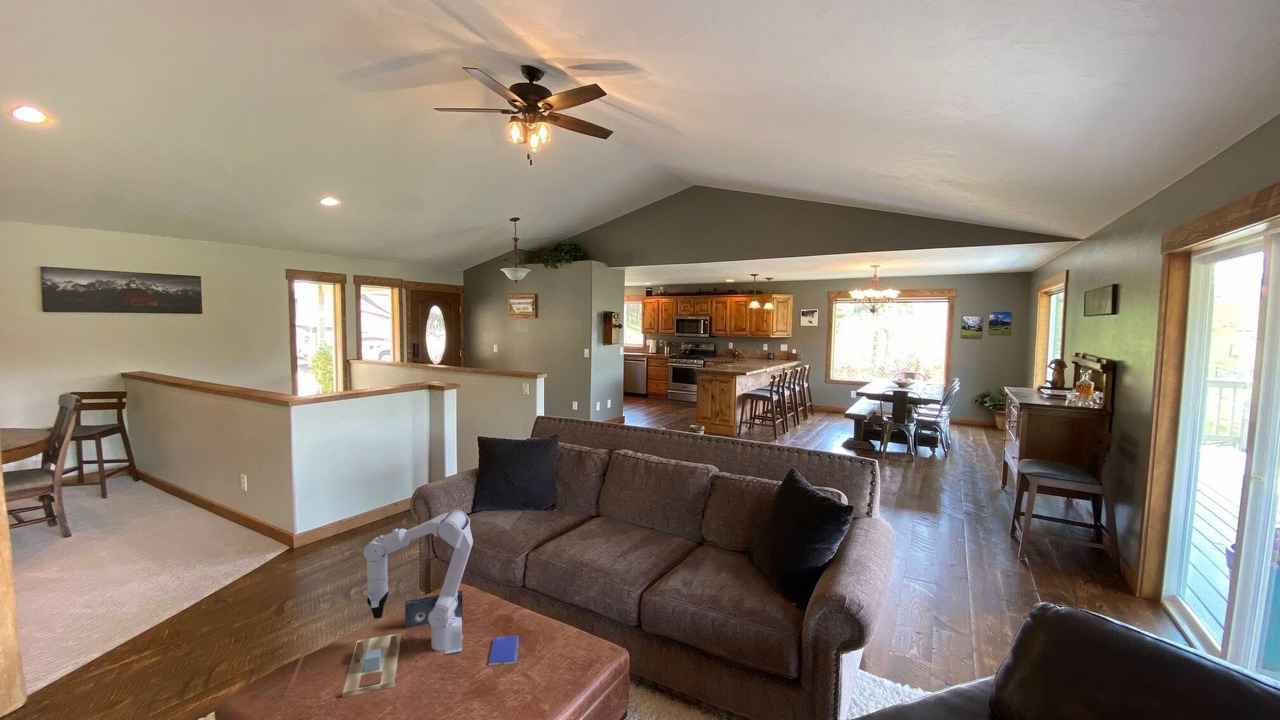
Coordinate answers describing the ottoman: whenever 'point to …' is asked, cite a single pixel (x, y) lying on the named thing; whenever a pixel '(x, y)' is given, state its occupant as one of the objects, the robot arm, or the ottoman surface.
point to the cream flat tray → (388, 668)
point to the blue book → (504, 650)
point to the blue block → (372, 660)
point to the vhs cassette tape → (426, 610)
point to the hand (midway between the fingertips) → (378, 617)
